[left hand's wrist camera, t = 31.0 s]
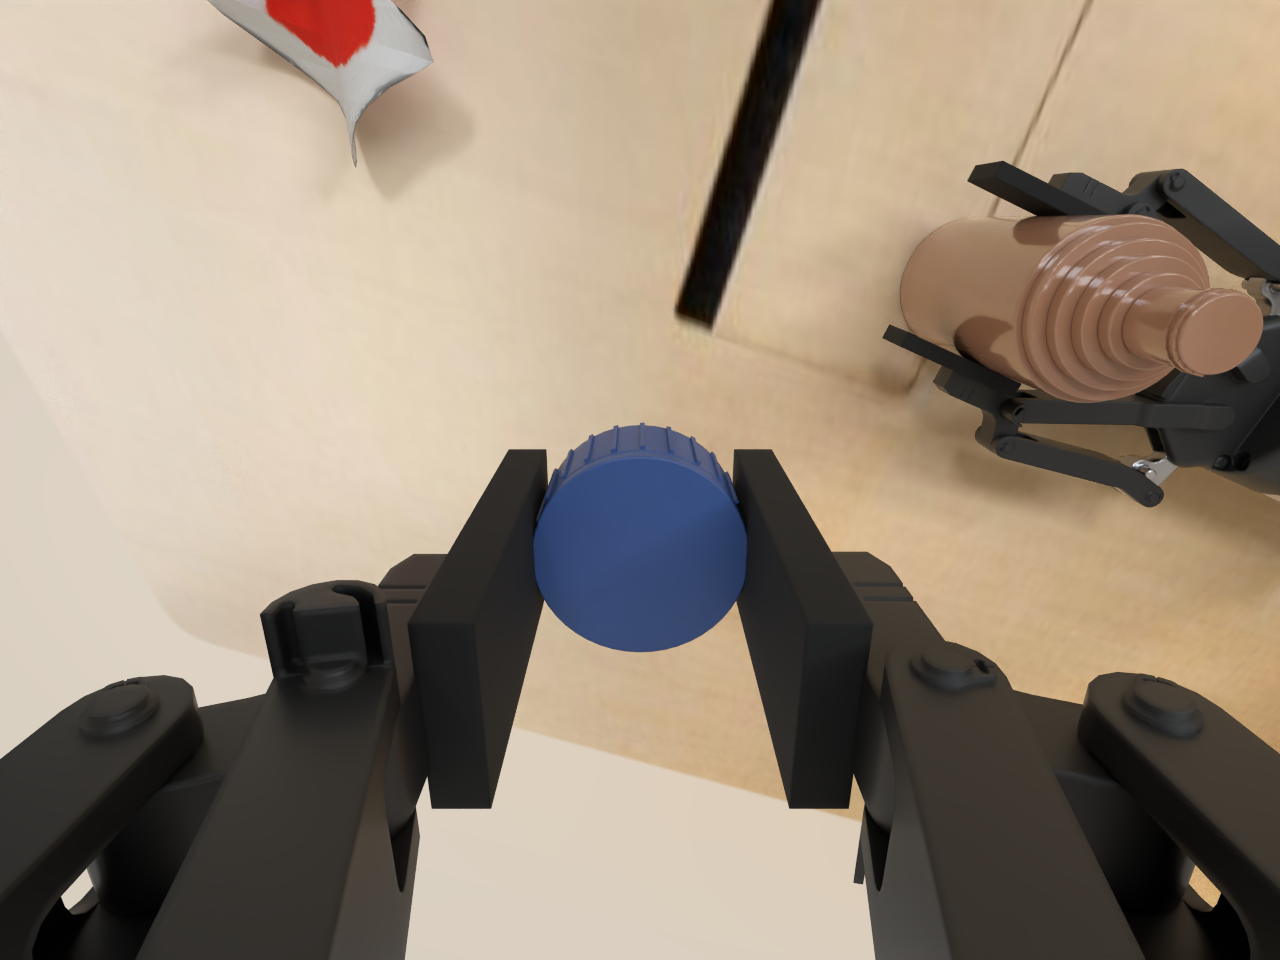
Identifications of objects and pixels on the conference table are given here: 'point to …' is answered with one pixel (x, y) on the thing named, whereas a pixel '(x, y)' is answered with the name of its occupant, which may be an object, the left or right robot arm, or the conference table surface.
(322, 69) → the fish
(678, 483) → the cap
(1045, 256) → the bottle
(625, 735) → the conference table surface
